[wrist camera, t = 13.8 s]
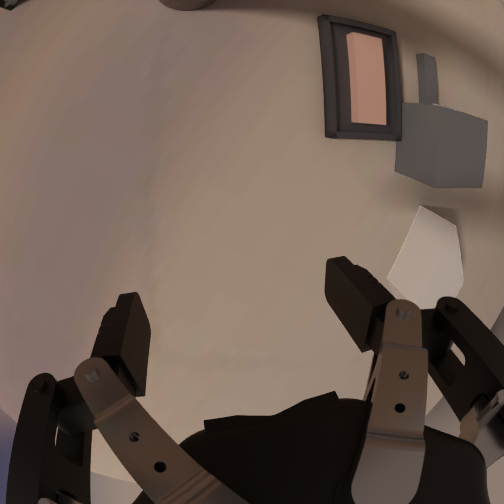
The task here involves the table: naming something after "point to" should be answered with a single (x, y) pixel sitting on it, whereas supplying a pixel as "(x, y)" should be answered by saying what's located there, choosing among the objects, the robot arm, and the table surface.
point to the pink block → (366, 79)
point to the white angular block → (427, 262)
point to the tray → (339, 80)
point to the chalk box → (8, 4)
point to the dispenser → (439, 138)
